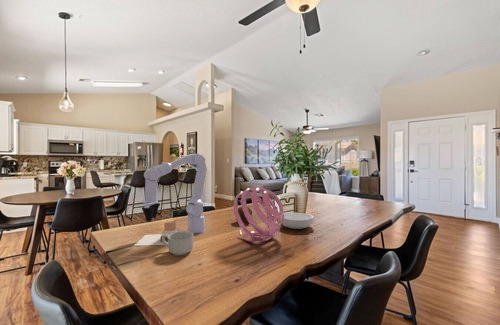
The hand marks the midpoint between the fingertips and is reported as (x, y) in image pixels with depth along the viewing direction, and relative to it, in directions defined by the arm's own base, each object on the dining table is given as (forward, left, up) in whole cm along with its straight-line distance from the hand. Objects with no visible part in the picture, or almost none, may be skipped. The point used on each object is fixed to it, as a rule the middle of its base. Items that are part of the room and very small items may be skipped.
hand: (151, 219), depth 120 cm
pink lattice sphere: (-55, +3, -11) cm, 56 cm away
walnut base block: (-10, 0, -10) cm, 14 cm away
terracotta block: (-9, 0, -5) cm, 11 cm away
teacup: (-17, +17, -11) cm, 26 cm away
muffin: (-49, -31, -11) cm, 59 cm away
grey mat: (-5, 0, -11) cm, 11 cm away
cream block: (-10, 0, -8) cm, 12 cm away
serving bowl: (-80, -18, -11) cm, 82 cm away
